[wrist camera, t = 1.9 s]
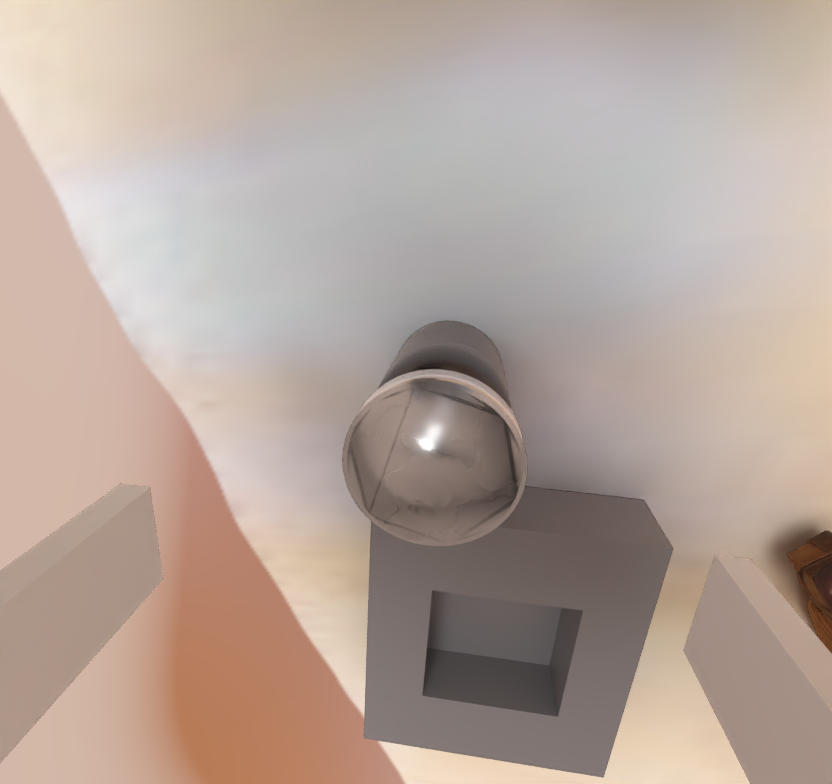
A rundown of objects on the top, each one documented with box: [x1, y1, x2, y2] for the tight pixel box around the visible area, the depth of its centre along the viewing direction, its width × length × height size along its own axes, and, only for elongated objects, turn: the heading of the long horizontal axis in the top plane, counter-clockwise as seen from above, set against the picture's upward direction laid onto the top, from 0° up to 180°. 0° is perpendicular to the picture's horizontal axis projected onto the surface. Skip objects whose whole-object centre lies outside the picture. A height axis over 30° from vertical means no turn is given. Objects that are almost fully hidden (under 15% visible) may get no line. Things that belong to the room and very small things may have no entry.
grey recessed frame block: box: [364, 487, 673, 777], centre depth 27 cm, size 16×14×4 cm
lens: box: [342, 321, 527, 546], centre depth 19 cm, size 6×6×10 cm
